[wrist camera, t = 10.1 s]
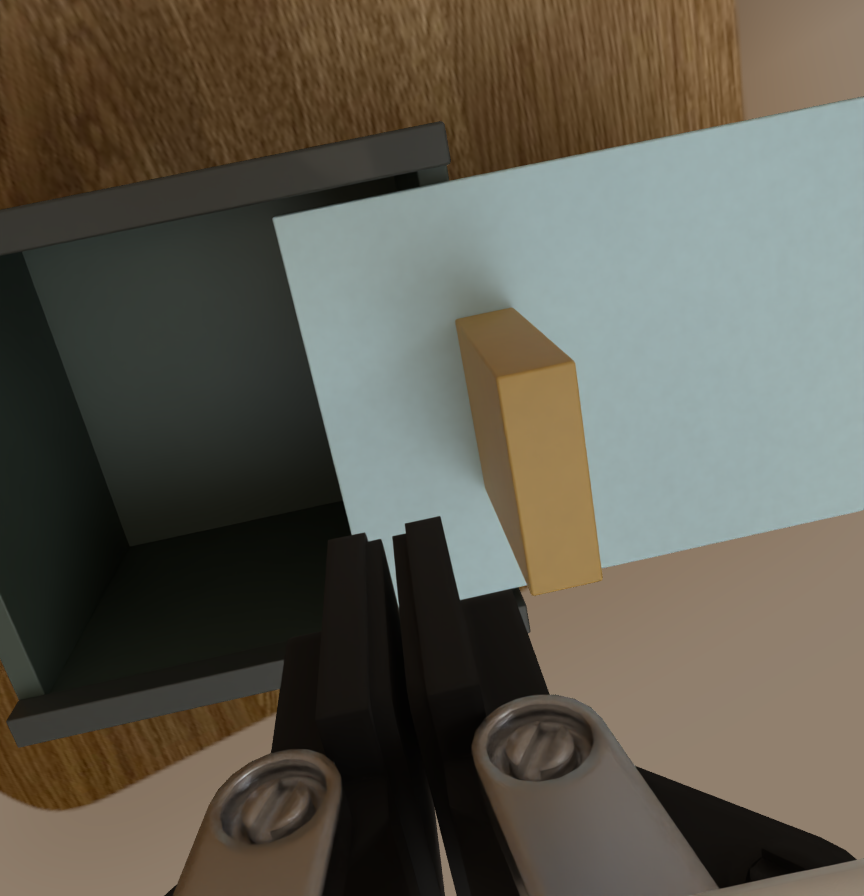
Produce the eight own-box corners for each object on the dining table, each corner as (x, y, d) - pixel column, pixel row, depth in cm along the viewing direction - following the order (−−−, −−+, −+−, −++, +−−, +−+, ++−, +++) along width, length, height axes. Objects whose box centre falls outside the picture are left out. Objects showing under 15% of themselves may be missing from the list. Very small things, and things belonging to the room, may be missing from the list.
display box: (406, 134, 30) (444, 120, 19) (470, 482, 35) (531, 632, 24) (-6, 217, 30) (-216, 253, 18) (121, 558, 35) (17, 748, 24)
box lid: (868, 95, 21) (1083, 69, 15) (864, 503, 25) (1031, 613, 19) (273, 216, 20) (244, 242, 14) (372, 613, 24) (382, 761, 18)
